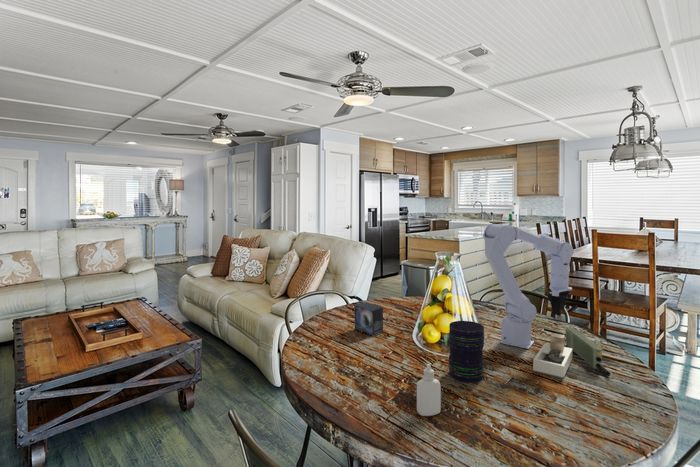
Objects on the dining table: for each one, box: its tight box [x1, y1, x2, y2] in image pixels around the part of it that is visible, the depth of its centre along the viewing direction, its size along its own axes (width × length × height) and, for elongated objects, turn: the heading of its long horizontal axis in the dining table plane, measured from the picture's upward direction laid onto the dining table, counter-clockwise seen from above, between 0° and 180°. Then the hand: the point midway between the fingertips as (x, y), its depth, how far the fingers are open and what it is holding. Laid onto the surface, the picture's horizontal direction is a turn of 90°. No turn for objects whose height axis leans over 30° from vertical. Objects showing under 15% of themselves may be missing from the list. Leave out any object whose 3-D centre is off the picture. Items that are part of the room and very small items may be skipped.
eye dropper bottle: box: [416, 363, 442, 417], centre depth 92 cm, size 4×6×12 cm
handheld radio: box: [565, 326, 611, 377], centre depth 121 cm, size 7×3×25 cm
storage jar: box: [448, 320, 485, 384], centre depth 110 cm, size 10×10×15 cm
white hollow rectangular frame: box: [532, 342, 574, 380], centre depth 117 cm, size 16×8×4 cm, turn 142°
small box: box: [353, 301, 384, 336], centre depth 149 cm, size 11×6×10 cm, turn 42°
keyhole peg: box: [549, 332, 566, 362], centre depth 119 cm, size 4×4×8 cm
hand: (558, 311), depth 137 cm, fingers open, 7 cm apart
